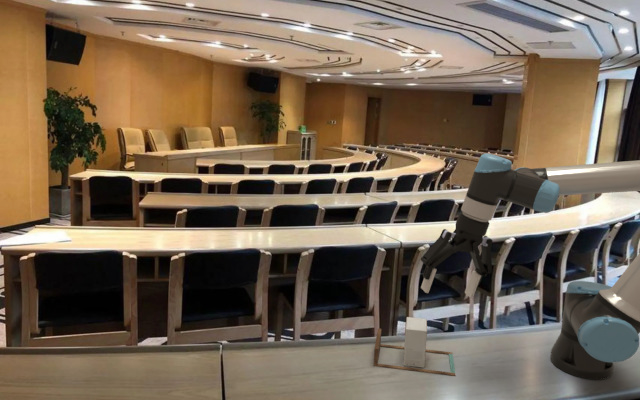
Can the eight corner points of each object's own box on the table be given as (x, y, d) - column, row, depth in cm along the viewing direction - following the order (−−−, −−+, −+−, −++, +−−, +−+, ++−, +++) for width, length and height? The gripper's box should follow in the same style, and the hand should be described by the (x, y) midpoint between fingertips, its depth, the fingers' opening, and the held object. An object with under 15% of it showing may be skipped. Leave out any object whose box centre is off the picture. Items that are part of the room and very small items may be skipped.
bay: (452, 353, 141) (453, 336, 140) (455, 376, 129) (457, 358, 128) (376, 344, 144) (377, 328, 143) (373, 366, 133) (374, 348, 132)
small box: (424, 368, 132) (427, 331, 130) (402, 365, 133) (405, 329, 131) (424, 353, 140) (427, 318, 138) (404, 351, 141) (406, 316, 139)
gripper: (505, 218, 131) (477, 290, 137) (424, 203, 122) (398, 281, 128) (524, 229, 124) (494, 304, 130) (440, 214, 115) (412, 295, 121)
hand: (446, 293), depth 129 cm, fingers open, 13 cm apart
